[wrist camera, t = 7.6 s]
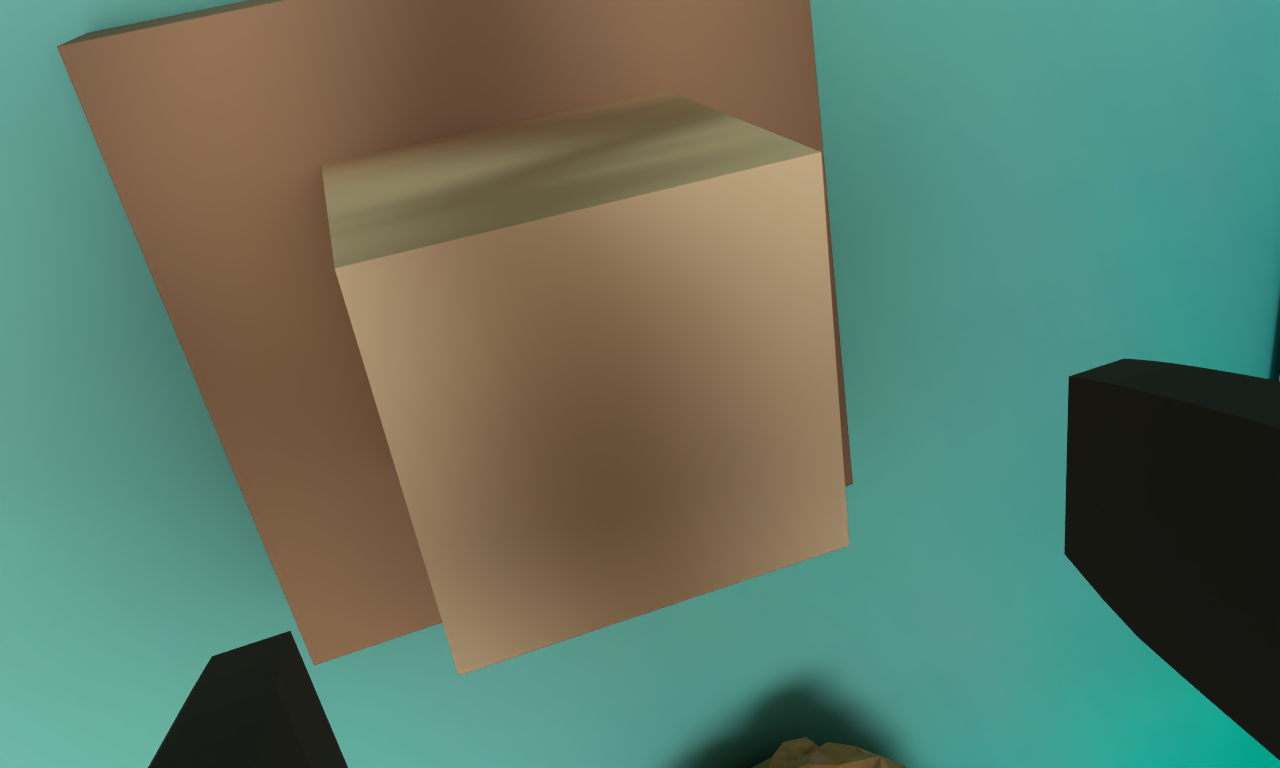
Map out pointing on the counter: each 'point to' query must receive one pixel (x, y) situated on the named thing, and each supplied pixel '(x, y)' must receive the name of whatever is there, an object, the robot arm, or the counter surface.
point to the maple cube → (596, 360)
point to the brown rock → (824, 756)
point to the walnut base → (299, 228)
